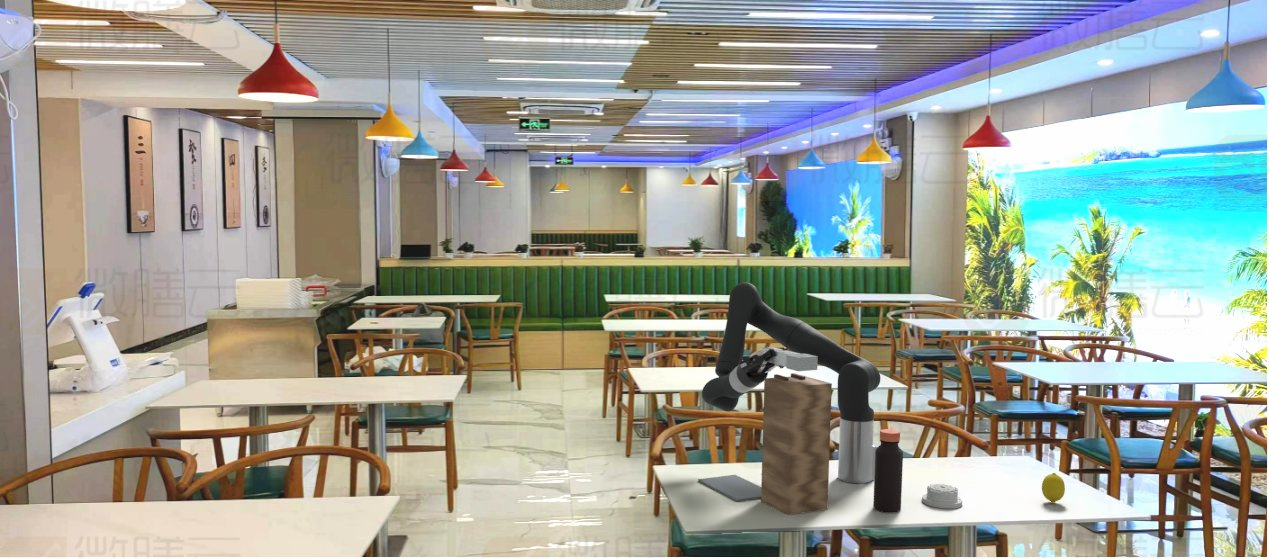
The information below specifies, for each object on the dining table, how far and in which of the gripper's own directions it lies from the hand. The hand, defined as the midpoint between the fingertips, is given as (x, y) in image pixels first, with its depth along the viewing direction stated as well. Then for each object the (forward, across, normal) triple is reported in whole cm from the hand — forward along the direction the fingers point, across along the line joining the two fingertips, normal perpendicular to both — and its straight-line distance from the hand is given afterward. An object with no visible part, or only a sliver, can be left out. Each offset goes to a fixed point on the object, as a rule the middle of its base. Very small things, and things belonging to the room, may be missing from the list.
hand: (780, 351), depth 249 cm
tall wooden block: (-12, 0, +37) cm, 39 cm away
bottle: (-2, +20, +44) cm, 48 cm away
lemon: (+9, +64, +50) cm, 82 cm away
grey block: (+1, 0, +4) cm, 4 cm away
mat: (-28, -6, +28) cm, 40 cm away
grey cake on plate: (-1, +37, +44) cm, 58 cm away
